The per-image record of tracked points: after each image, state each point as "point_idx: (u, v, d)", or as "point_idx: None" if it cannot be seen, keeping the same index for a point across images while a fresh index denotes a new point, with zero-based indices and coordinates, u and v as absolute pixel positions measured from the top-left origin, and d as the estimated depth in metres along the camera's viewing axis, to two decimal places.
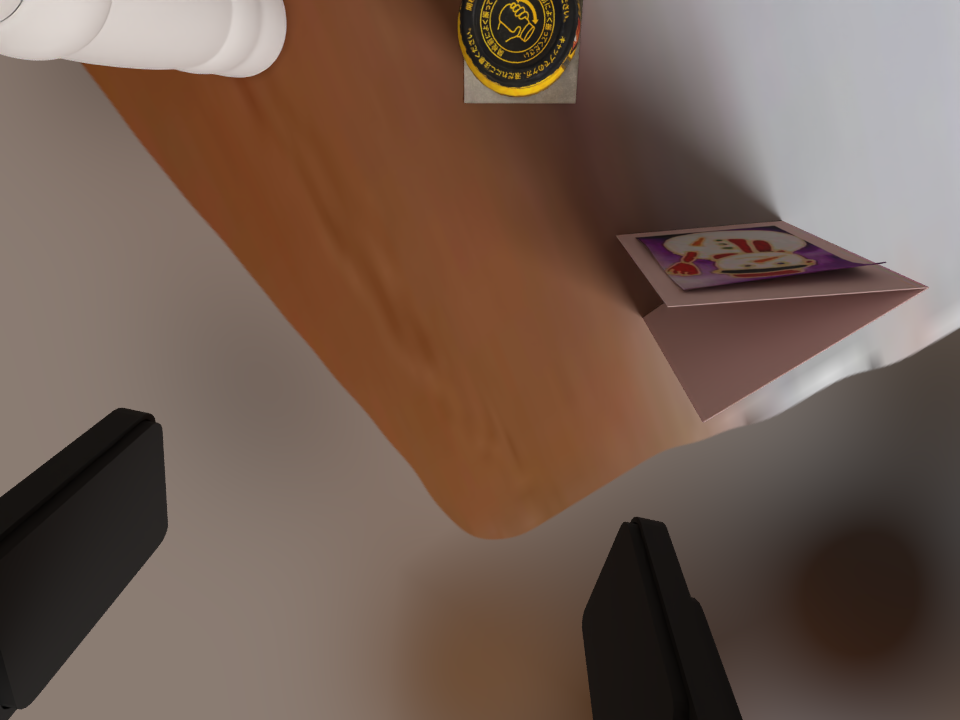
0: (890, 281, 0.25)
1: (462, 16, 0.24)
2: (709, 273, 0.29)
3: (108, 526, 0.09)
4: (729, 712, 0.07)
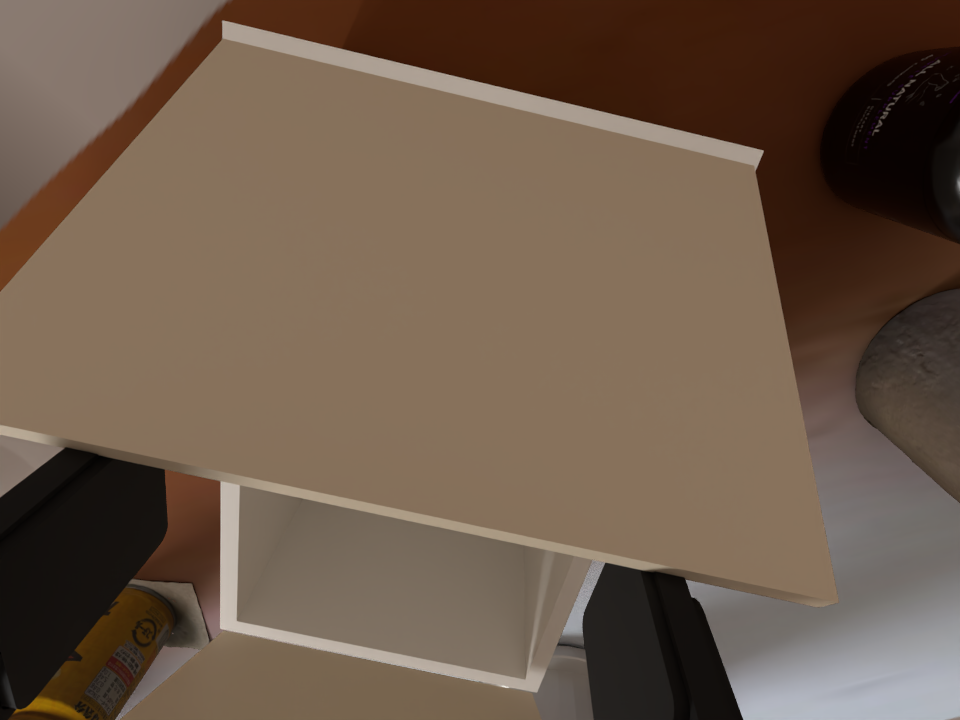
0: None
1: None
2: None
3: (108, 526, 0.09)
4: (730, 713, 0.07)
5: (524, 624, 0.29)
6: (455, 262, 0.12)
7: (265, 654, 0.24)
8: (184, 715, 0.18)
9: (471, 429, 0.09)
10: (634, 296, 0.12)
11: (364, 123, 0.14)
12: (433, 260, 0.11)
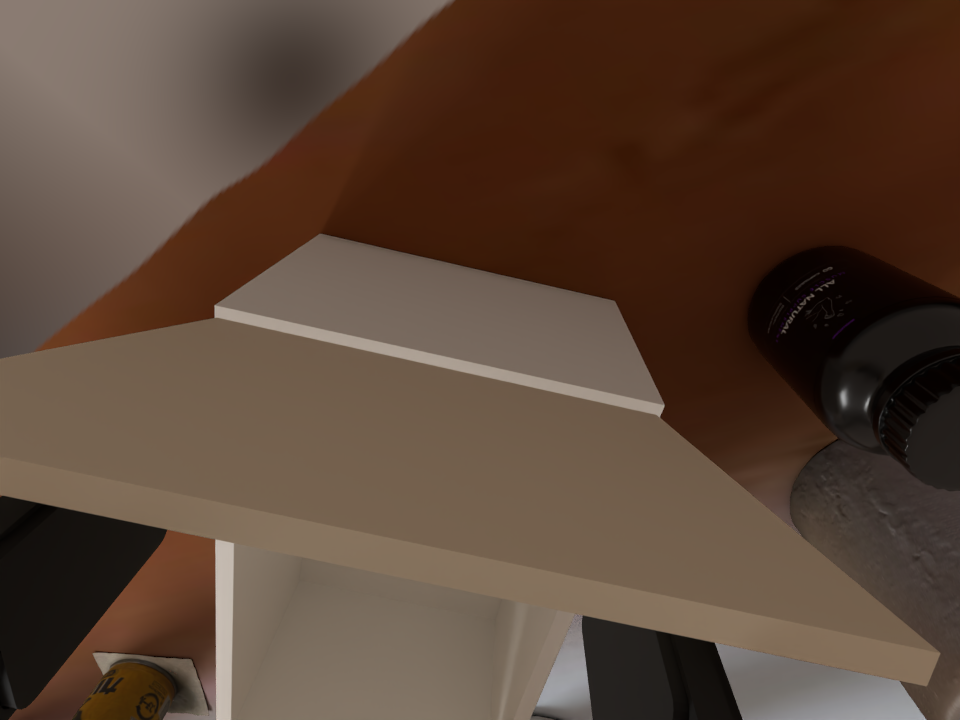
0: None
1: None
2: None
3: (108, 526, 0.09)
4: (729, 712, 0.07)
5: None
6: (424, 417, 0.12)
7: None
8: None
9: (464, 497, 0.08)
10: (593, 451, 0.12)
11: (335, 358, 0.16)
12: (403, 414, 0.12)
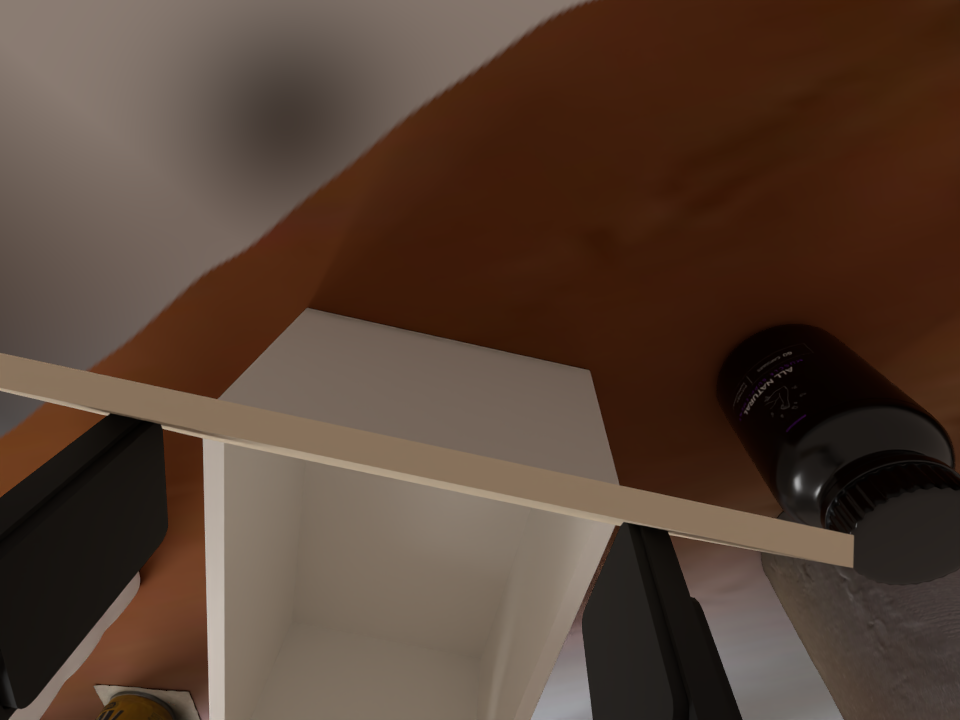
0: None
1: None
2: None
3: (108, 526, 0.09)
4: (729, 712, 0.07)
5: None
6: None
7: None
8: None
9: None
10: None
11: None
12: None
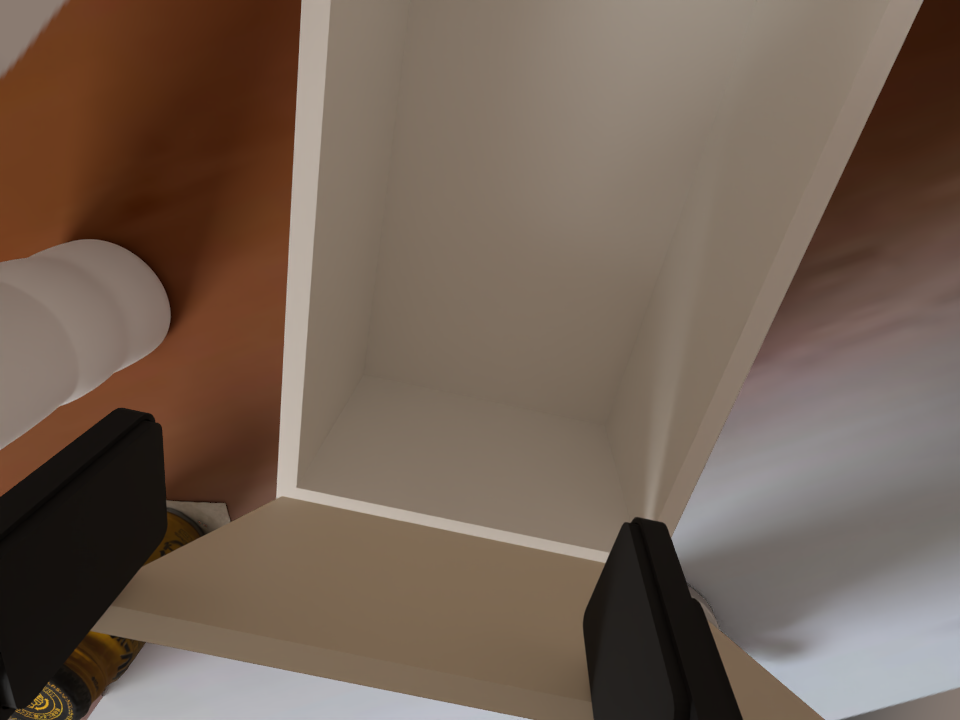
0: None
1: None
2: None
3: (107, 526, 0.09)
4: (730, 713, 0.07)
5: (626, 508, 0.25)
6: None
7: (336, 517, 0.20)
8: (252, 556, 0.14)
9: None
10: None
11: None
12: None
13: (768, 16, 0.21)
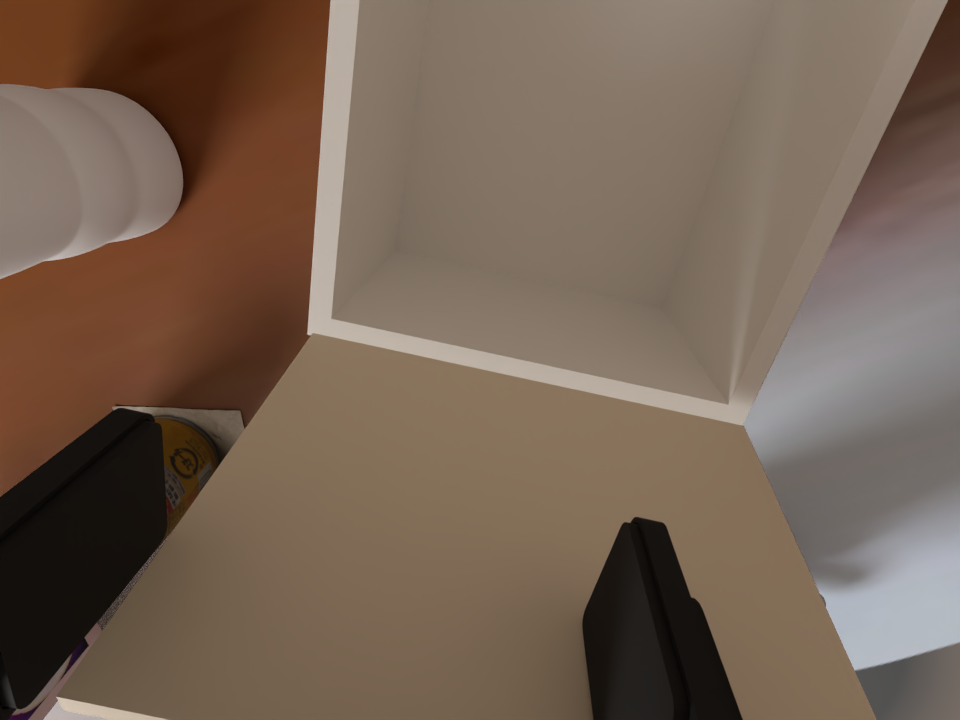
0: None
1: None
2: None
3: (107, 526, 0.09)
4: (729, 712, 0.07)
5: (702, 366, 0.22)
6: None
7: (373, 376, 0.17)
8: (265, 517, 0.12)
9: None
10: None
11: None
12: None
13: None
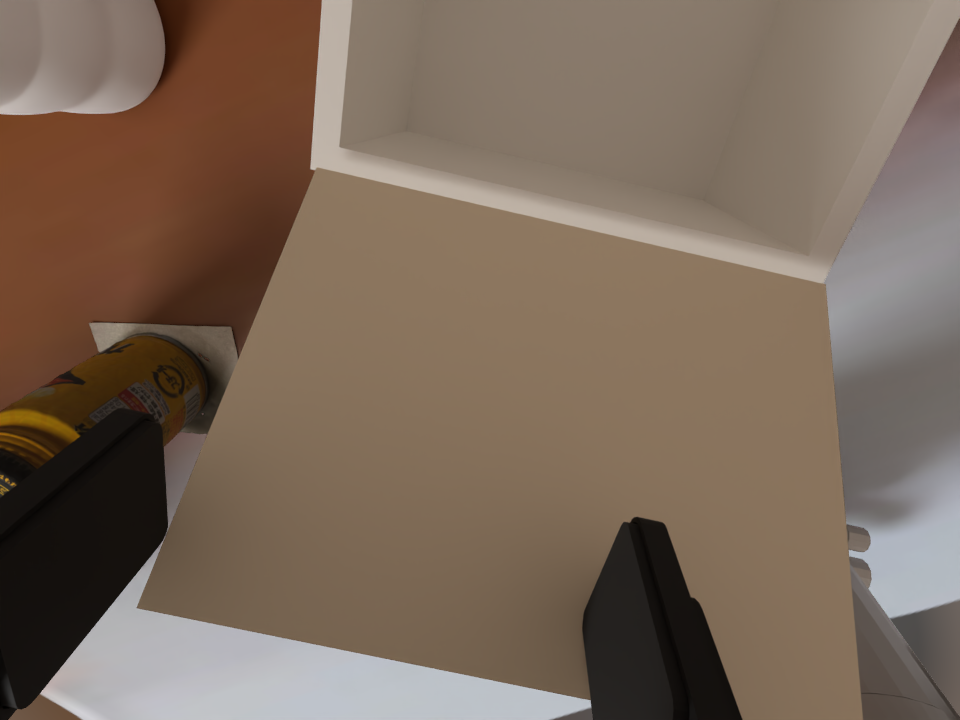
0: None
1: None
2: None
3: (108, 526, 0.09)
4: (729, 712, 0.07)
5: (766, 232, 0.19)
6: None
7: (390, 232, 0.15)
8: (287, 429, 0.12)
9: None
10: None
11: None
12: None
13: None
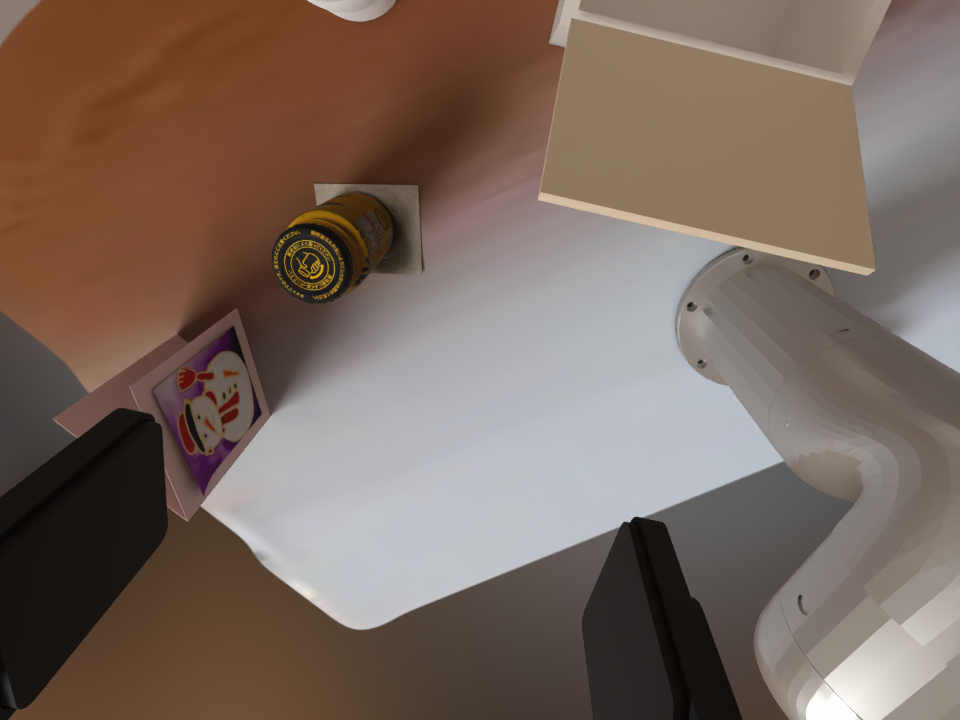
0: (191, 501, 0.41)
1: (307, 227, 0.33)
2: (183, 397, 0.40)
3: (108, 526, 0.09)
4: (729, 712, 0.07)
5: None
6: None
7: (616, 50, 0.27)
8: (587, 131, 0.25)
9: None
10: None
11: None
12: None
13: None
